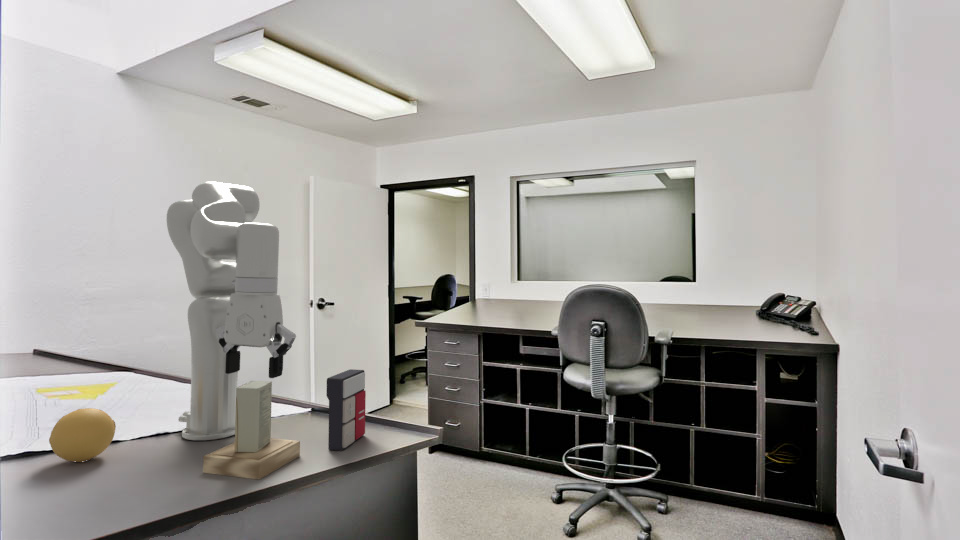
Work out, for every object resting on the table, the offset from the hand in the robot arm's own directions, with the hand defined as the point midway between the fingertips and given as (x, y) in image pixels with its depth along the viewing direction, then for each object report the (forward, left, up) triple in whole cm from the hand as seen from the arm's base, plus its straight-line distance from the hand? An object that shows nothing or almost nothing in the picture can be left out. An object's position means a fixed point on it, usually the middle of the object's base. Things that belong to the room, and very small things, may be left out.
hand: (253, 374), depth 95 cm
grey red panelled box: (+12, +16, -17) cm, 26 cm away
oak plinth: (+1, 0, -17) cm, 17 cm away
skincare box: (+1, -1, -14) cm, 14 cm away
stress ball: (-32, -7, -17) cm, 37 cm away
